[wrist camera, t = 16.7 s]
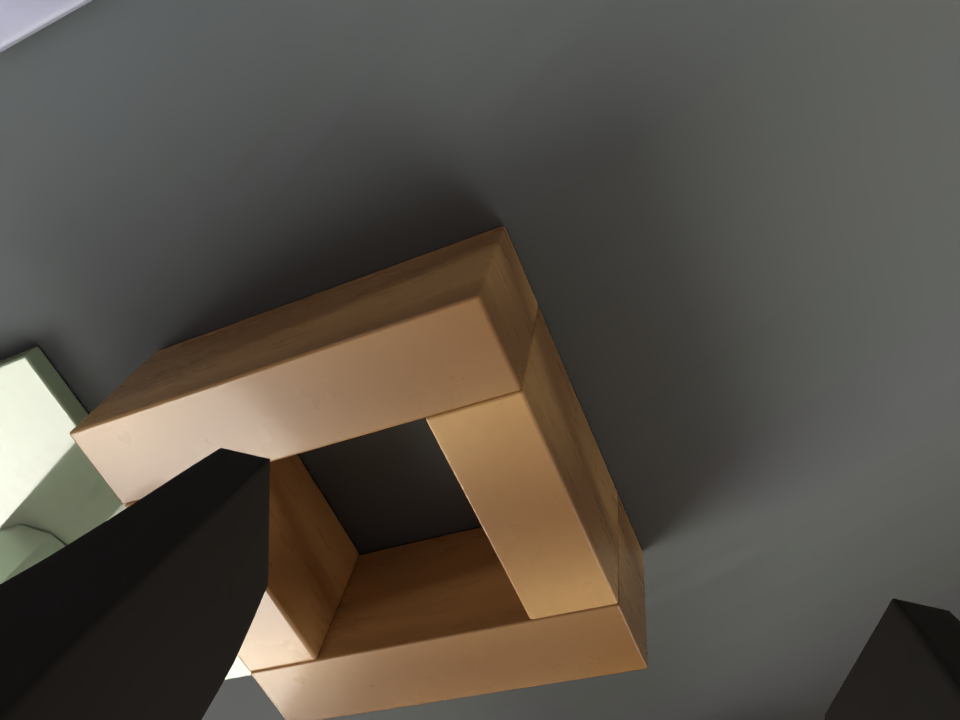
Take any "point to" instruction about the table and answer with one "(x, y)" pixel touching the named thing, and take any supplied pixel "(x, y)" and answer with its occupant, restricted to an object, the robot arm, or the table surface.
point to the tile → (50, 458)
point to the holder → (469, 451)
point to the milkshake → (24, 549)
